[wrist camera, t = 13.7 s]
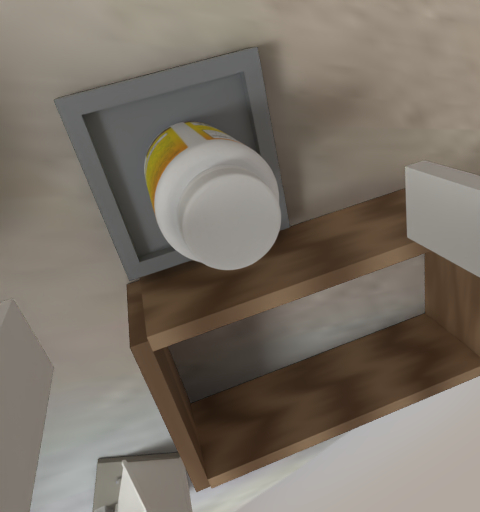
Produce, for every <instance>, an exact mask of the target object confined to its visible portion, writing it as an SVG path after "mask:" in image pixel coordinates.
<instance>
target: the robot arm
mask: <svg viewBox="0 0 480 512" xmlns="http://www.w3.org/2000/svg"><path fill="white" fill-rule="evenodd" d="M405 185H406V218H407V238H409V239H411V240H413V241H415V242H416V243H418V244H420V245H422V246H424V247H426V248H427V249H429V250H431V251H433V252H435V253H436V254H438V255H440V256H442V257H444V258H445V259H447V260H449V261H451V262H453V263H454V264H456V265H458V266H460V267H462V268H464V269H465V270H467V271H469V272H471V273H473V274H474V275H476V276H478V277H480V176H479V175H476V174H472V173H468V172H465V171H461V170H458V169H454V168H451V167H447V166H444V165H440V164H436V163H433V162H429V161H426V160H423V161H420V162H417V163H414V164H411V165H408V166H405ZM53 370H54V367H53V365H52V363H51V362H50V360H49V358H48V356H47V355H46V353H45V351H44V350H43V348H42V346H41V345H40V343H39V341H38V340H37V338H36V336H35V335H34V333H33V331H32V330H31V328H30V326H29V324H28V323H27V321H26V319H25V318H24V316H23V314H22V313H21V311H20V309H19V308H18V306H17V304H16V303H15V301H14V299H13V298H12V299H9V300H6V301H3V302H0V512H29V511H30V506H31V500H32V494H33V488H34V482H35V476H36V470H37V464H38V459H39V453H40V447H41V441H42V435H43V429H44V423H45V417H46V412H47V406H48V400H49V394H50V388H51V382H52V376H53Z"/></svg>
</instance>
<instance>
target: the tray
mask: <svg viewBox="0 0 480 512" xmlns="http://www.w3.org/2000/svg"><path fill="white" fill-rule="evenodd" d="M54 102H55V105H56V107H57V109H58V112H59V114H60V116H61V119H62V121H63V124H64V126H65V128H66V131H67V133H68V136H69V138H70V140H71V143H72V145H73V148H74V150H75V152H76V155H77V157H78V159H79V162H80V164H81V167H82V169H83V171H84V174H85V176H86V179H87V181H88V183H89V186H90V188H91V190H92V193H93V195H94V198H95V200H96V202H97V205H98V207H99V210H100V212H101V214H102V217H103V219H104V222H105V224H106V226H107V229H108V231H109V233H110V236H111V238H112V241H113V243H114V245H115V248H116V250H117V253H118V255H119V257H120V260H121V262H122V265H123V267H124V269H125V272H126V274H127V276H128V279H129V281H131V280H134V279H137V278H140V277H143V276H146V275H149V274H152V273H155V272H158V271H161V270H164V269H167V268H170V267H173V266H176V265H179V264H182V263H185V262H188V261H191V260H192V259H189V258H187V257H185V256H184V255H182V254H180V253H179V252H178V251H176V250H175V249H174V248H173V247H172V246H171V245H170V244H169V243H168V242H167V240H166V239H165V237H164V236H163V234H162V232H161V230H160V228H159V226H158V223H157V220H156V217H155V213H154V210H153V206H152V203H151V199H150V195H149V192H148V188H147V184H146V181H145V175H144V162H145V157H146V153H147V151H148V148H149V146H150V145H151V143H152V142H153V140H154V139H155V138H156V136H157V135H158V134H160V133H161V132H162V131H163V130H165V129H166V128H168V127H169V126H172V125H174V124H176V123H180V122H186V121H196V122H202V123H205V124H208V125H211V126H213V127H215V128H216V129H218V130H220V131H222V132H224V133H225V134H227V135H229V136H231V137H232V138H234V139H236V140H237V141H239V142H241V143H242V144H244V145H246V146H248V147H249V148H251V149H252V150H254V151H255V152H257V153H258V154H259V155H260V156H261V157H262V158H263V159H264V160H265V161H266V162H267V164H268V165H269V167H270V168H271V170H272V172H273V174H274V176H275V178H276V181H277V185H278V191H279V205H280V210H281V226H280V230H279V231H281V230H284V229H287V228H290V224H289V219H288V213H287V208H286V202H285V197H284V191H283V186H282V180H281V175H280V169H279V164H278V158H277V152H276V147H275V141H274V136H273V130H272V125H271V119H270V114H269V108H268V103H267V97H266V92H265V86H264V80H263V75H262V69H261V64H260V58H259V53H258V47H252V48H247V49H243V50H239V51H235V52H232V53H228V54H224V55H220V56H216V57H212V58H209V59H205V60H201V61H197V62H193V63H189V64H186V65H182V66H178V67H174V68H170V69H166V70H163V71H159V72H155V73H151V74H147V75H144V76H140V77H136V78H132V79H128V80H124V81H121V82H117V83H113V84H109V85H105V86H101V87H98V88H94V89H90V90H86V91H82V92H78V93H75V94H71V95H67V96H63V97H59V98H57V99H55V100H54Z"/></svg>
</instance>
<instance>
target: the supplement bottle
mask: <svg viewBox="0 0 480 512" xmlns="http://www.w3.org/2000/svg"><path fill="white" fill-rule="evenodd" d="M144 175H145V181H146V184H147V188H148V192H149V195H150V199H151V203H152V206H153V210H154V213H155V217H156V220H157V223H158V226H159V228H160V230H161V232H162V234H163V236H164V237H165V239H166V240H167V242H168V243H169V244H170V245H171V246H172V247H173V248H174V249H175V250H176V251H178V252H179V253H180V254H182V255H184V256H185V257H187V258H189V259H192V260H194V261H198V262H202V263H203V264H205V265H207V266H209V267H212V268H215V269H220V270H235V269H241V268H244V267H247V266H249V265H251V264H253V263H255V262H257V261H258V260H259V259H261V258H262V257H263V256H264V255H265V254H266V253H267V252H268V251H269V250H270V249H271V247H272V246H273V244H274V242H275V240H276V239H277V236H278V233H279V230H280V226H281V210H280V205H279V191H278V185H277V181H276V178H275V176H274V174H273V172H272V170H271V168H270V167H269V165H268V164H267V162H266V161H265V160H264V159H263V158H262V157H261V156H260V155H259V154H258V153H257V152H255V151H254V150H252V149H251V148H249V147H248V146H246V145H244V144H242V143H241V142H239V141H237V140H236V139H234V138H232V137H231V136H229V135H227V134H225V133H224V132H222V131H220V130H218V129H216V128H215V127H213V126H211V125H208V124H205V123H202V122H196V121H186V122H180V123H176V124H174V125H172V126H169V127H168V128H166V129H165V130H163V131H162V132H161V133H160V134H158V135H157V136H156V138H155V139H154V140H153V142H152V143H151V145H150V146H149V148H148V151H147V153H146V157H145V162H144Z"/></svg>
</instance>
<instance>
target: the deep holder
mask: <svg viewBox="0 0 480 512" xmlns="http://www.w3.org/2000/svg"><path fill="white" fill-rule="evenodd" d="M424 253H425V313H424V314H422V315H419V316H417V317H414V318H411V319H409V320H406V321H404V322H401V323H399V324H396V325H393V326H391V327H388V328H386V329H383V330H380V331H378V332H375V333H373V334H370V335H367V336H365V337H362V338H360V339H357V340H354V341H352V342H349V343H347V344H344V345H341V346H339V347H336V348H334V349H331V350H329V351H326V352H323V353H321V354H318V355H316V356H313V357H310V358H308V359H305V360H303V361H300V362H297V363H295V364H292V365H290V366H287V367H284V368H282V369H279V370H277V371H274V372H271V373H269V374H266V375H264V376H261V377H258V378H256V379H253V380H251V381H248V382H246V383H243V384H240V385H238V386H235V387H233V388H230V389H227V390H225V391H222V392H220V393H217V394H214V395H212V396H209V397H207V398H204V399H201V400H199V401H196V402H194V403H190V401H189V398H188V396H187V393H186V391H185V388H184V386H183V383H182V381H181V378H180V376H179V373H178V371H177V368H176V366H175V363H174V361H173V358H172V356H171V353H170V351H169V348H168V346H170V345H172V344H175V343H178V342H181V341H184V340H186V339H189V338H192V337H195V336H197V335H200V334H203V333H206V332H208V331H211V330H214V329H217V328H219V327H222V326H225V325H228V324H231V323H233V322H236V321H239V320H242V319H244V318H247V317H250V316H253V315H255V314H258V313H261V312H264V311H266V310H269V309H272V308H275V307H278V306H280V305H283V304H286V303H289V302H291V301H294V300H297V299H300V298H302V297H305V296H308V295H311V294H313V293H316V292H319V291H322V290H325V289H327V288H330V287H333V286H336V285H338V284H341V283H344V282H347V281H349V280H352V279H355V278H358V277H360V276H363V275H366V274H369V273H372V272H374V271H377V270H380V269H383V268H385V267H388V266H391V265H394V264H396V263H399V262H402V261H405V260H407V259H410V258H413V257H416V256H419V255H421V254H424ZM127 302H128V321H129V339H130V349H131V351H132V353H133V355H134V357H135V360H136V362H137V364H138V366H139V368H140V370H141V373H142V375H143V377H144V379H145V381H146V383H147V386H148V388H149V390H150V392H151V394H152V396H153V399H154V401H155V403H156V405H157V407H158V409H159V412H160V414H161V416H162V418H163V420H164V422H165V425H166V427H167V429H168V431H169V433H170V436H171V438H172V440H173V442H174V444H175V446H176V449H177V451H178V453H179V455H180V457H181V459H182V462H183V464H184V466H185V468H186V470H187V472H188V475H189V477H190V479H191V481H192V483H193V485H194V488H195V490H196V492H198V491H201V490H203V489H205V488H208V487H210V486H211V488H214V487H216V486H219V485H221V484H223V483H226V482H228V481H230V480H233V479H235V478H238V477H240V476H242V475H245V474H247V473H249V472H252V471H254V470H257V469H259V468H261V467H264V466H266V465H269V464H271V463H273V462H276V461H278V460H280V459H283V458H285V457H288V456H290V455H292V454H295V453H297V452H300V451H302V450H304V449H307V448H309V447H311V446H314V445H316V444H319V443H321V442H323V441H326V440H328V439H330V438H333V437H335V436H338V435H340V434H342V433H345V432H347V431H350V430H352V429H354V428H357V427H359V426H361V425H364V424H366V423H369V422H371V421H373V420H376V419H378V418H380V417H383V416H385V415H388V414H390V413H392V412H395V411H397V410H399V409H402V408H404V407H407V406H409V405H411V404H414V403H416V402H419V401H421V400H423V399H426V398H428V397H430V396H433V395H435V394H437V393H440V392H442V391H445V390H447V389H450V388H452V387H454V386H457V385H459V384H461V383H464V382H466V381H469V380H471V379H473V378H476V377H478V376H480V277H478V276H476V275H474V274H473V273H471V272H469V271H467V270H465V269H464V268H462V267H460V266H458V265H456V264H454V263H453V262H451V261H449V260H447V259H445V258H444V257H442V256H440V255H438V254H436V253H435V252H433V251H431V250H429V249H427V248H426V247H424V246H422V245H420V244H418V243H416V242H415V241H413V240H411V239H409V238H407V218H406V188H405V189H402V190H399V191H396V192H393V193H390V194H387V195H384V196H381V197H378V198H375V199H372V200H369V201H366V202H363V203H360V204H357V205H354V206H351V207H348V208H345V209H342V210H339V211H336V212H333V213H330V214H327V215H324V216H321V217H318V218H315V219H312V220H309V221H306V222H303V223H300V224H297V225H294V226H291V227H290V228H287V229H284V230H281V231H279V233H278V236H277V239H276V240H275V242H274V244H273V246H272V247H271V249H270V250H269V251H268V252H267V253H266V254H265V255H264V256H263V257H262V258H261V259H259V260H258V261H257V262H255V263H253V264H251V265H249V266H247V267H244V268H241V269H235V270H220V269H215V268H212V267H209V266H207V265H205V264H203V263H202V262H198V261H194V260H191V261H188V262H185V263H182V264H179V265H176V266H173V267H170V268H167V269H164V270H161V271H158V272H155V273H152V274H149V275H146V276H143V277H140V280H139V281H136V282H133V283H130V284H127Z"/></svg>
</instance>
